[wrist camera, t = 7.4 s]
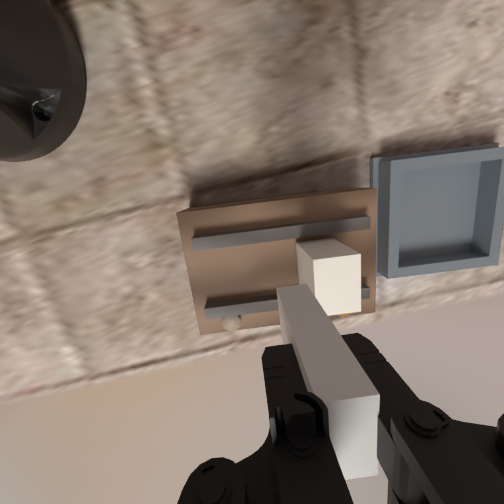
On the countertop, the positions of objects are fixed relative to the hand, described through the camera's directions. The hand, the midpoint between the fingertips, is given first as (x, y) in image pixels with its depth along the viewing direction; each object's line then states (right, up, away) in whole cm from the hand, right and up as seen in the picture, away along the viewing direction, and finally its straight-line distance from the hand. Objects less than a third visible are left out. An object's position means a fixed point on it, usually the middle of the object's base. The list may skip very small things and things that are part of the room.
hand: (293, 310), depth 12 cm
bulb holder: (+16, +7, +13) cm, 22 cm away
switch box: (0, +3, +13) cm, 14 cm away
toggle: (+3, +2, +8) cm, 9 cm away
